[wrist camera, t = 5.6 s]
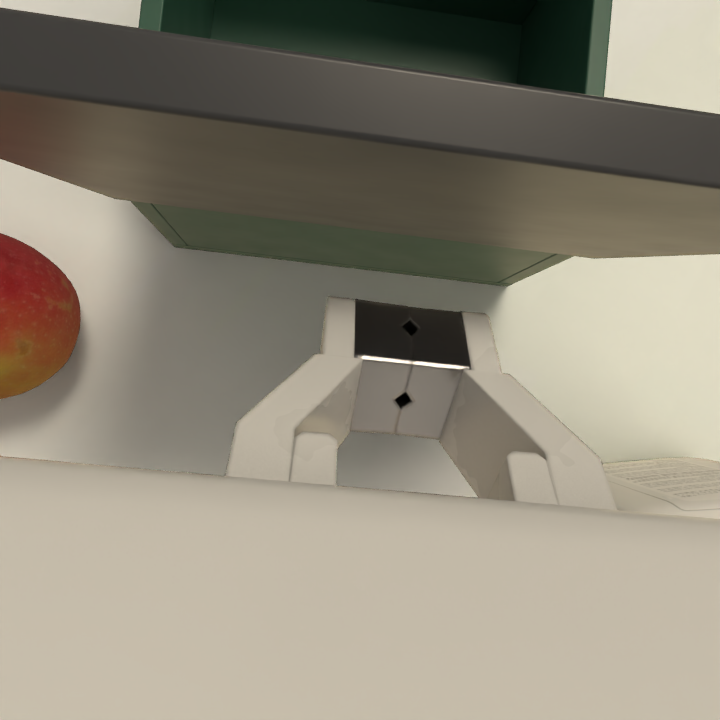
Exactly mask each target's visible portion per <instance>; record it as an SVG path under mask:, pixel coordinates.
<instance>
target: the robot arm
mask: <svg viewBox="0 0 720 720" xmlns="http://www.w3.org/2000/svg"><path fill="white" fill-rule="evenodd" d="M350 431H354V432H369V433H383V434H396V435H404V436H413V437H421V438H429V439H437V440H439V443H440V444H441V445H442V447H443V448H444V450H445V451H446V452H447V454H448V455H449V457H450V458H451V459H452V461H453V462H454V464H455V465H456V466H457V468H458V469H459V471H460V472H461V473H462V475H463V476H464V478H465V479H466V480H467V482H468V483H469V485H470V486H471V488H472V489H473V490H474V492H475V493H476V495H477V496H478V497H479V498H474V497H462V496H450V495H439V494H427V493H416V492H404V491H393V490H381V489H370V488H358V487H346V486H336V476H337V449H338V447H339V446H340V445H341V443H342V442H343V441H344V440H345V438H346V437H347V436H348V435H349V432H350ZM0 720H720V519H714V518H702V517H690V516H678V515H666V514H654V513H642V512H631V511H620V510H617V507H616V504H615V501H614V498H613V495H612V492H611V489H610V486H609V483H608V480H607V477H606V474H605V471H604V468H603V465H602V462H601V460H600V457H599V456H597V455H596V454H595V453H594V452H593V451H592V450H591V449H590V448H589V447H588V446H587V445H586V444H584V443H583V442H582V441H581V440H580V439H579V438H578V437H577V436H576V435H575V434H574V433H573V432H572V431H570V430H569V429H568V428H567V427H566V426H565V425H564V424H563V423H562V422H561V421H560V420H559V419H558V418H556V417H555V416H554V415H553V414H552V413H551V412H550V411H549V410H548V409H547V408H546V407H545V406H544V405H542V404H541V403H540V402H539V401H538V400H537V399H536V398H535V397H534V396H533V395H532V394H531V393H529V392H528V391H527V390H526V389H525V388H524V387H523V386H522V385H521V384H520V383H519V382H518V381H517V380H515V379H514V378H513V377H512V376H511V375H510V374H505V373H502V371H501V366H500V362H499V358H498V353H497V349H496V345H495V341H494V336H493V332H492V328H491V323H490V319H489V316H488V315H487V314H485V313H474V312H462V311H460V312H453V311H444V310H435V309H425V308H416V307H408V306H403V305H395V304H388V303H380V302H373V301H366V300H358V299H355V301H354V299H349V298H341V297H333V296H328V297H327V301H326V309H325V317H324V324H323V332H322V340H321V348H320V354H314V355H313V356H311V357H310V358H309V359H308V360H307V361H306V362H305V363H303V364H302V365H301V366H300V367H299V368H298V369H297V370H296V371H294V372H293V373H292V374H291V375H290V376H289V377H288V378H286V379H285V380H284V381H283V382H282V383H281V384H280V385H278V386H277V387H276V388H275V389H274V390H273V391H272V392H270V393H269V394H268V395H267V396H266V397H265V398H264V399H262V400H261V401H260V402H259V403H258V404H257V405H256V406H254V407H253V408H252V409H251V410H250V411H249V412H248V413H246V414H245V415H244V416H243V417H242V418H241V419H240V420H238V421H237V422H236V426H235V430H234V435H233V440H232V445H231V449H230V454H229V459H228V464H227V468H226V473H225V476H220V475H209V474H197V473H186V472H174V471H163V470H151V469H140V468H128V467H117V466H105V465H94V464H82V463H71V462H59V461H48V460H37V459H25V458H14V457H3V456H0Z"/></svg>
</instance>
